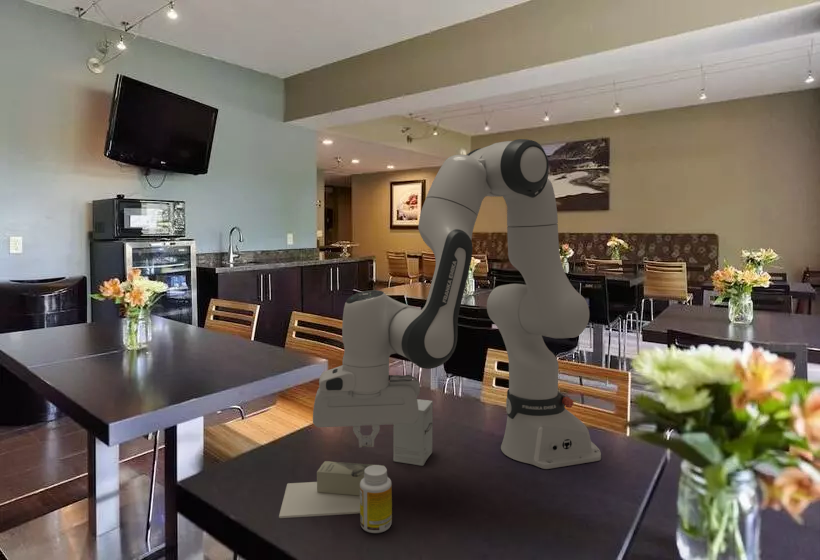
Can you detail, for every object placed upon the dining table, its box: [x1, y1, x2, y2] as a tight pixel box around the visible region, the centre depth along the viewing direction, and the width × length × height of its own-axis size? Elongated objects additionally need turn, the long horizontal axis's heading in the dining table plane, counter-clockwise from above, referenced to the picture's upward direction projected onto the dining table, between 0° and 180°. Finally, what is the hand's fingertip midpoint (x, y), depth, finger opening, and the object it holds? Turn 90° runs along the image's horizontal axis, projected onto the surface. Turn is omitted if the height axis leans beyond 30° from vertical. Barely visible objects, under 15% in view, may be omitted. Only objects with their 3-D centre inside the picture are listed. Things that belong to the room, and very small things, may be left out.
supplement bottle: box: [359, 464, 393, 534], centre depth 89 cm, size 6×6×10 cm
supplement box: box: [392, 398, 434, 467], centre depth 116 cm, size 7×7×13 cm
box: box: [316, 460, 386, 496], centre depth 101 cm, size 5×4×13 cm
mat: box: [278, 481, 360, 519], centre depth 99 cm, size 18×12×1 cm, turn 96°
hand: (366, 446), depth 99 cm, fingers closed
